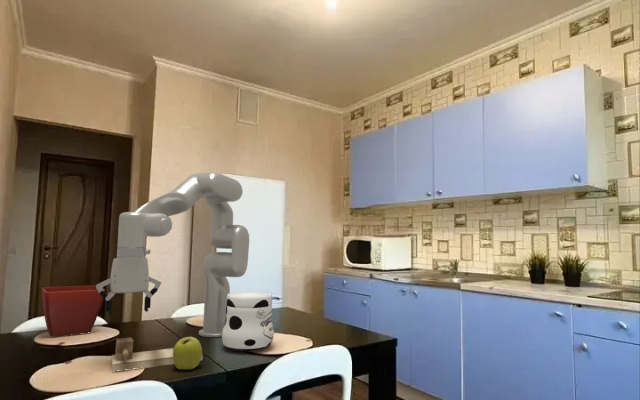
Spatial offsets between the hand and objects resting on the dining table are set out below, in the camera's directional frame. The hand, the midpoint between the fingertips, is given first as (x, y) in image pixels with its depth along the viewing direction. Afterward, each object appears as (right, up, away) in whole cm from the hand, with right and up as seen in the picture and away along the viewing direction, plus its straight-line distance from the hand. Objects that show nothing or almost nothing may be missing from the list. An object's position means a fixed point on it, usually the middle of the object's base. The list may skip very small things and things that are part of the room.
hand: (128, 312), depth 114 cm
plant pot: (-40, -18, +36) cm, 57 cm away
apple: (+19, -15, -4) cm, 24 cm away
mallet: (+1, -12, -4) cm, 13 cm away
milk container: (+32, -18, +18) cm, 41 cm away
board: (+8, -15, +2) cm, 17 cm away
